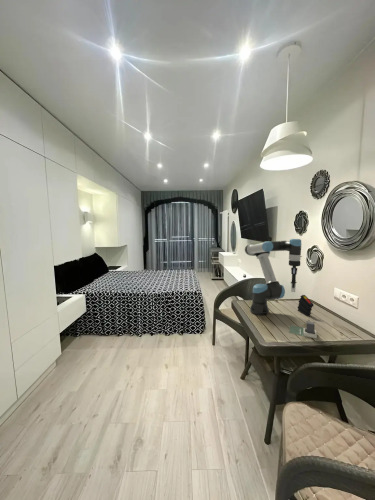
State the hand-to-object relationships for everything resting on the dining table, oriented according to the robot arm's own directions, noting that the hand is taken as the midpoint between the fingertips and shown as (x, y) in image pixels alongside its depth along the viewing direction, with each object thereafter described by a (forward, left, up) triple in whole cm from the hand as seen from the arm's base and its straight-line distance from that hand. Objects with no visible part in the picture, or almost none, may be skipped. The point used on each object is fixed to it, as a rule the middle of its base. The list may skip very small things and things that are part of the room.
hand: (293, 291), depth 148 cm
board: (+7, -13, -24) cm, 29 cm away
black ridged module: (+9, +23, -25) cm, 35 cm away
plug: (+11, -15, -23) cm, 30 cm away
